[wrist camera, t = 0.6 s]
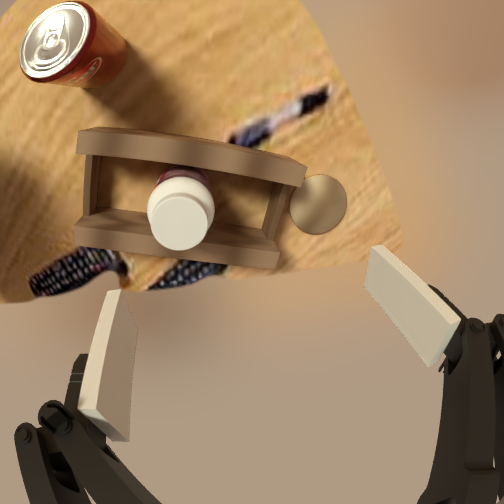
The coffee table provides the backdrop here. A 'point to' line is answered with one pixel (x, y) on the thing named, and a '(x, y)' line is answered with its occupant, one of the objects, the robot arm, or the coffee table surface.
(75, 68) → the soda can
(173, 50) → the coffee table surface
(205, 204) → the pill bottle
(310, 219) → the coaster
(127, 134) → the pocket block
